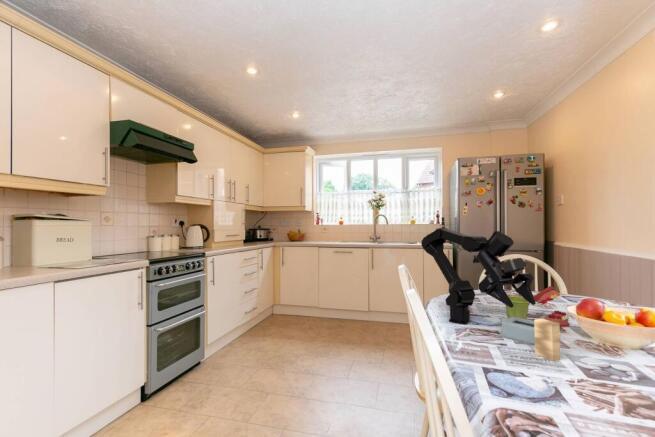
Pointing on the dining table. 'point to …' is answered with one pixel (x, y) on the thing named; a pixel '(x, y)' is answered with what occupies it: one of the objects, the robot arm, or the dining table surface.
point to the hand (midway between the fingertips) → (523, 305)
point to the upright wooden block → (547, 339)
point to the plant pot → (518, 308)
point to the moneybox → (519, 330)
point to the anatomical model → (557, 316)
